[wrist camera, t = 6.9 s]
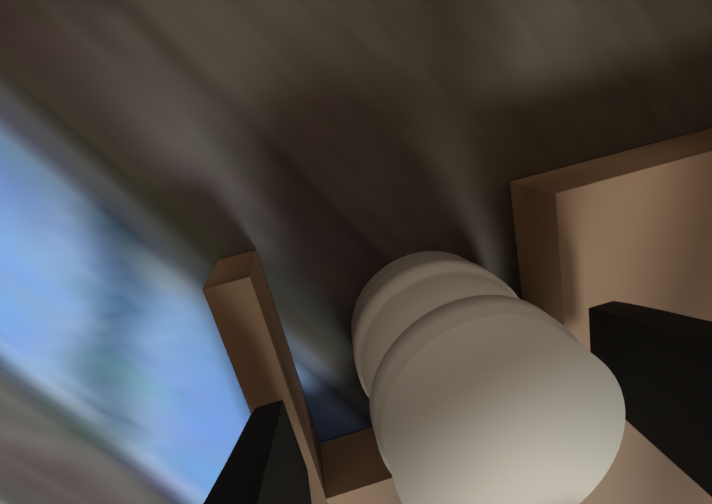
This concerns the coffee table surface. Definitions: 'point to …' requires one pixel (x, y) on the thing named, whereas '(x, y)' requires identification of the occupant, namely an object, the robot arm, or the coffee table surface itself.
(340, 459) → the shelf board
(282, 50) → the coffee table surface
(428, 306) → the ribbed cream cylinder
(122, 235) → the coffee table surface
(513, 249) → the coffee table surface
